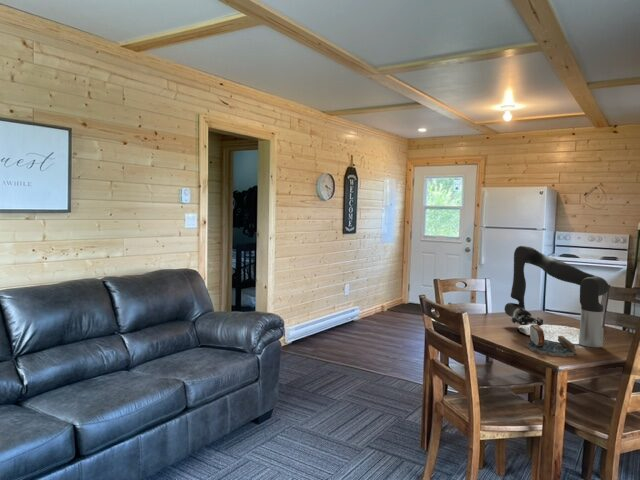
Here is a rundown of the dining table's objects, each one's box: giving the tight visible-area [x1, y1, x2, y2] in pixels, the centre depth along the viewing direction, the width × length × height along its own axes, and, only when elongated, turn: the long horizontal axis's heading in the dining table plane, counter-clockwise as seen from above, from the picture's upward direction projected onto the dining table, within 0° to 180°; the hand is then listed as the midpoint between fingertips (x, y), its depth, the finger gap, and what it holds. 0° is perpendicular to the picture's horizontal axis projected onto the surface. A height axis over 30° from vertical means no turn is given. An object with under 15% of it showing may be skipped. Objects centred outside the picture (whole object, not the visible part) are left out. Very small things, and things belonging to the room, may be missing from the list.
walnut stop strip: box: [557, 335, 576, 351], centre depth 216 cm, size 2×16×2 cm, turn 170°
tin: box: [529, 324, 546, 347], centre depth 218 cm, size 15×3×8 cm, turn 170°
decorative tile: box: [526, 340, 577, 358], centre depth 216 cm, size 20×20×2 cm
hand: (530, 323), depth 229 cm, fingers open, 8 cm apart
